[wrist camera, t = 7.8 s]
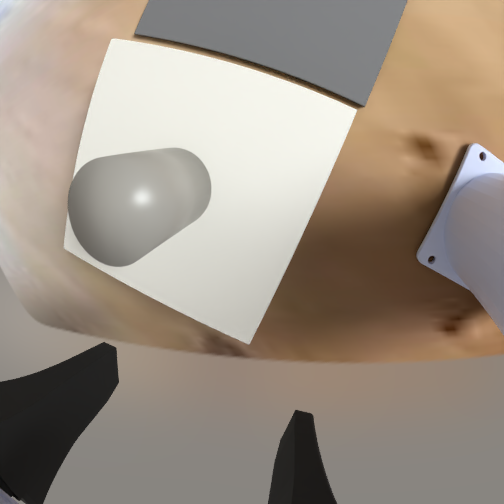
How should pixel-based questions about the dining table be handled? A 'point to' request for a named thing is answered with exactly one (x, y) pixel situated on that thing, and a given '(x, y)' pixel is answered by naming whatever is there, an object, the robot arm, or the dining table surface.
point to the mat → (287, 36)
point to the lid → (199, 180)
